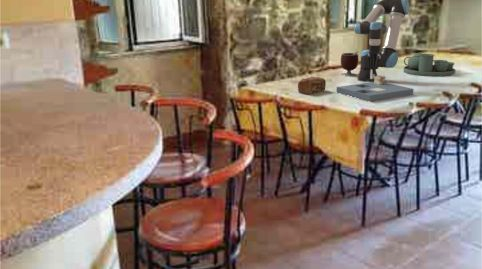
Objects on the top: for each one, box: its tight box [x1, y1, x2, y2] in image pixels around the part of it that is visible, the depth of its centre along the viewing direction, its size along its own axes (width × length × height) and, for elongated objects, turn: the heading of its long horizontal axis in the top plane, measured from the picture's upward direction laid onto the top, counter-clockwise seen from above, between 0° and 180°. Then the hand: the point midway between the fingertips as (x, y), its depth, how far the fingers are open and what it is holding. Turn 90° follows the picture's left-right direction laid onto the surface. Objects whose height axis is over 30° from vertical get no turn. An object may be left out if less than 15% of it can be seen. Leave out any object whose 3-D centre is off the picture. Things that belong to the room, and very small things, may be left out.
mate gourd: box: [340, 51, 359, 77], centre depth 385 cm, size 16×14×20 cm
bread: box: [297, 76, 327, 95], centre depth 328 cm, size 19×11×10 cm, turn 132°
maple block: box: [373, 75, 386, 85], centre depth 331 cm, size 5×5×5 cm
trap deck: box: [336, 81, 414, 102], centre depth 319 cm, size 38×32×4 cm
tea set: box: [403, 51, 456, 77], centre depth 393 cm, size 40×40×16 cm
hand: (372, 78), depth 337 cm, fingers closed
